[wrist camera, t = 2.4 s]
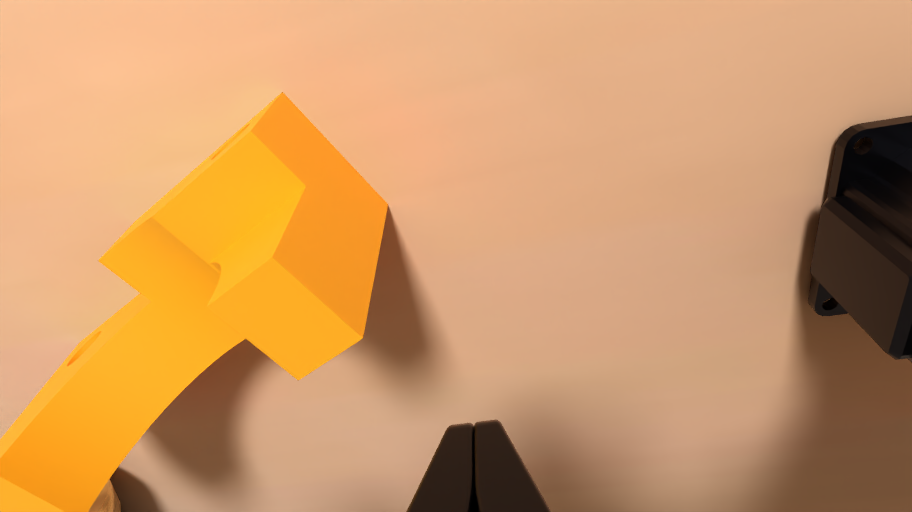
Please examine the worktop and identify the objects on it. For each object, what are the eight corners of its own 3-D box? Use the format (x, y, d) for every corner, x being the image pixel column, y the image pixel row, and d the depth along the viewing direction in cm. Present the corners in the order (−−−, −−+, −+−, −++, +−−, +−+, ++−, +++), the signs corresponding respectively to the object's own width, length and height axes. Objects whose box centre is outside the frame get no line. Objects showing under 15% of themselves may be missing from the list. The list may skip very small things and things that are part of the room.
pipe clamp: (283, 90, 16) (200, 192, 11) (388, 201, 18) (363, 338, 13) (35, 308, 20) (-121, 466, 14) (143, 382, 22) (40, 548, 16)
